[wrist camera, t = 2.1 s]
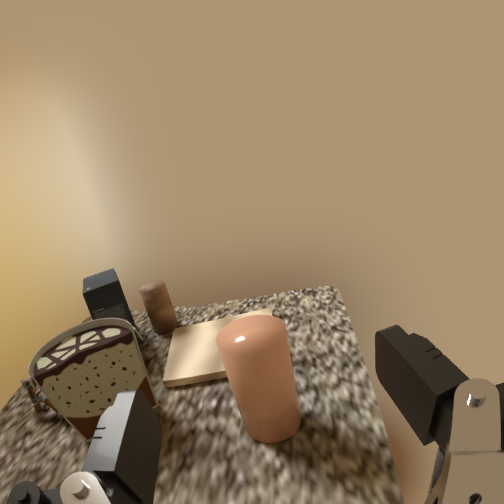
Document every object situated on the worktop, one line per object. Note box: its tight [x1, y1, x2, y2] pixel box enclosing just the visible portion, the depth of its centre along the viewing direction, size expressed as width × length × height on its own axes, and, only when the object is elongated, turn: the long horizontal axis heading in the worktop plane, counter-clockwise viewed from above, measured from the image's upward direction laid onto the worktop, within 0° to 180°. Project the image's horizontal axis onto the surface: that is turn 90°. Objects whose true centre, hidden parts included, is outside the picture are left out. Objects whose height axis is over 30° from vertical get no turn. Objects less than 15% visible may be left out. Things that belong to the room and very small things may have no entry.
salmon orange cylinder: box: [216, 315, 301, 443], centre depth 23 cm, size 5×5×10 cm
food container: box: [28, 318, 159, 443], centre depth 27 cm, size 12×6×10 cm, turn 130°
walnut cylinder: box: [139, 280, 178, 334], centre depth 45 cm, size 4×4×7 cm
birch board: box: [163, 308, 272, 388], centre depth 38 cm, size 14×12×1 cm
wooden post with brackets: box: [21, 379, 64, 421], centre depth 28 cm, size 2×8×4 cm, turn 77°
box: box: [83, 268, 143, 346], centre depth 42 cm, size 8×6×11 cm
